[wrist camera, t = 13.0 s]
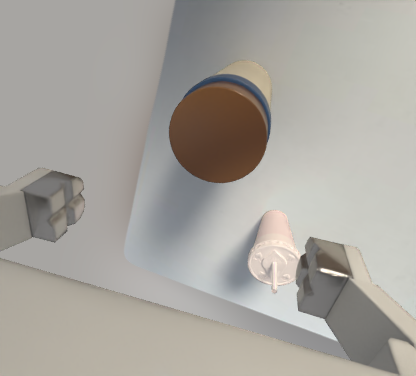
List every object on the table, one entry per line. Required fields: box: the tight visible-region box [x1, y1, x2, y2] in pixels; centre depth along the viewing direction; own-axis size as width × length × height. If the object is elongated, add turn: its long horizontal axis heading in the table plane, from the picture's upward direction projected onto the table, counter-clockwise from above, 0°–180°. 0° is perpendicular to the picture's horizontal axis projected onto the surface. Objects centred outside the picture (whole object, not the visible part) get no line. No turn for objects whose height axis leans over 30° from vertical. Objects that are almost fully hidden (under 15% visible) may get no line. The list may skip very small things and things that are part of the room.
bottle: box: [182, 60, 272, 142], centre depth 28 cm, size 7×7×16 cm
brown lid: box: [169, 81, 268, 183], centre depth 20 cm, size 7×7×2 cm
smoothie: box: [248, 210, 301, 293], centre depth 37 cm, size 6×6×14 cm
